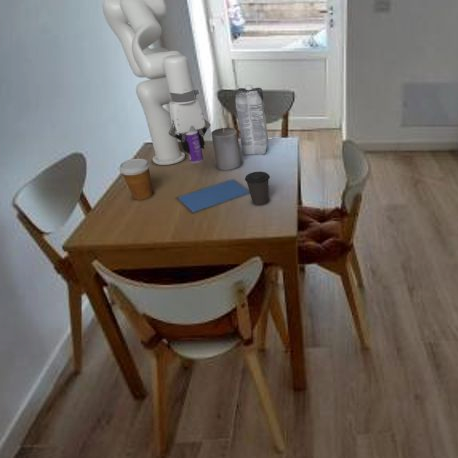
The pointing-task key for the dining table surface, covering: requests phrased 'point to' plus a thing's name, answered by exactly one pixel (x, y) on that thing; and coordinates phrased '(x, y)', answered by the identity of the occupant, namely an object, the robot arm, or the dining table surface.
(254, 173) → the coffee cup
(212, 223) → the dining table surface
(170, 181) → the dining table surface
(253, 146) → the juice carton
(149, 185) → the disposable coffee cup
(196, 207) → the napkin
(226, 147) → the pillar candle
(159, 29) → the robot arm
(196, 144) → the container
